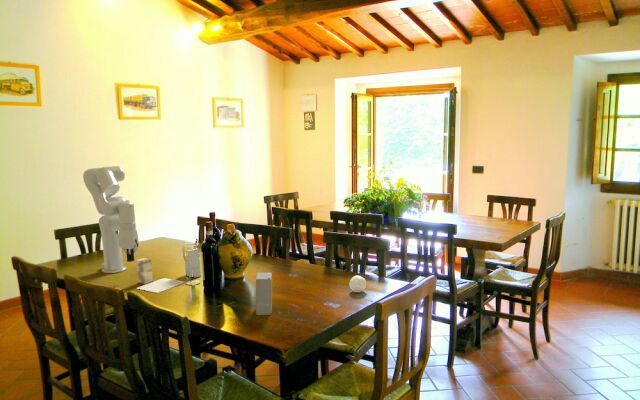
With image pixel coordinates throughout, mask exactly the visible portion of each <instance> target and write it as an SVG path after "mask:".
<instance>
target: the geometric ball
mask: <svg viewBox="0 0 640 400" xmlns="http://www.w3.org/2000/svg"><path fill="white" fill-rule="evenodd" d="M348 286H349V288H350V290H351V291H353V292H354V293H359V294H360V293H361V292H363V291H364V290H365V289H366V288H367V281H366V279H365V278H364V277H363V276H361V275H354V276H352V277H351V279H350V280H349V285H348Z"/></svg>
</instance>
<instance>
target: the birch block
mask: <svg viewBox="0 0 640 400" xmlns="http://www.w3.org/2000/svg"><path fill="white" fill-rule="evenodd" d="M135 261H136V271H137V281H138V282H137V284H138V285H146V284H149V283H152V282H154V277H153V267H152V266H153V265H152V264H153V263H152V258H147V257H142V258H139V259H135Z"/></svg>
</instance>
